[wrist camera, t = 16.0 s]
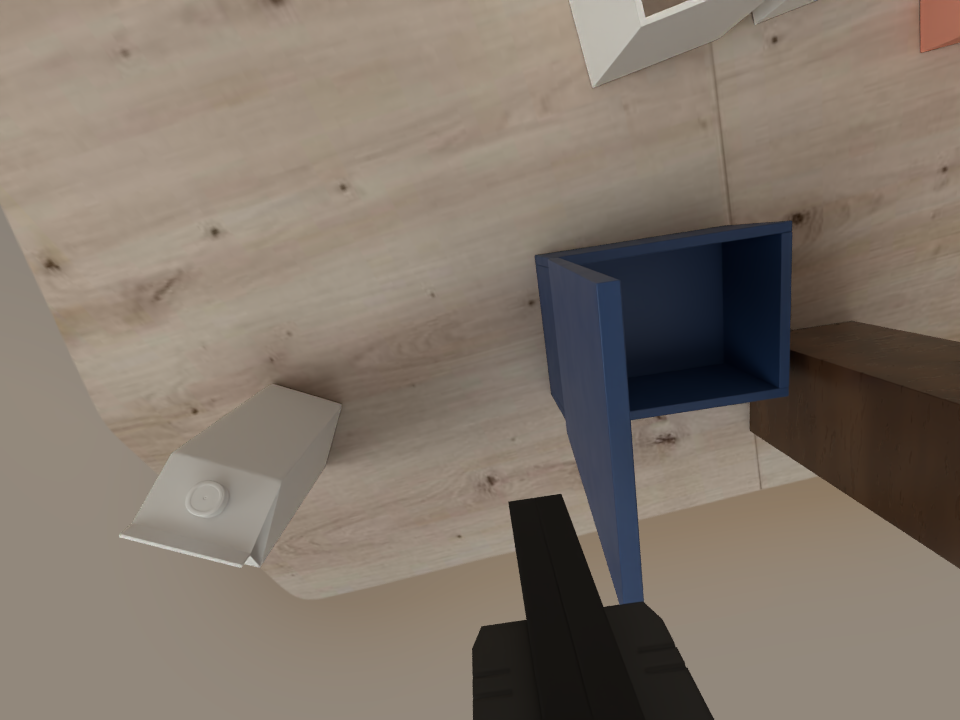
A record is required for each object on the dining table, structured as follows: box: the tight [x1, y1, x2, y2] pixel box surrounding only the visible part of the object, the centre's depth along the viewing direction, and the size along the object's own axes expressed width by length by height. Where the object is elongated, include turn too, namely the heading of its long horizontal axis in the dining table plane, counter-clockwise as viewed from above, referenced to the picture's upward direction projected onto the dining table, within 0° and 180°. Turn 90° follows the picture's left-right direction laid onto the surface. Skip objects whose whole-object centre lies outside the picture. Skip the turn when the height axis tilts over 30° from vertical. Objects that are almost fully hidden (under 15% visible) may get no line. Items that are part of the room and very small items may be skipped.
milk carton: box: [119, 384, 342, 568], centre depth 36 cm, size 7×7×19 cm
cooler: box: [535, 221, 792, 420], centre depth 39 cm, size 18×14×9 cm
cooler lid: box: [548, 258, 644, 605], centre depth 25 cm, size 18×14×1 cm
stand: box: [750, 321, 960, 569], centre depth 31 cm, size 10×10×28 cm
